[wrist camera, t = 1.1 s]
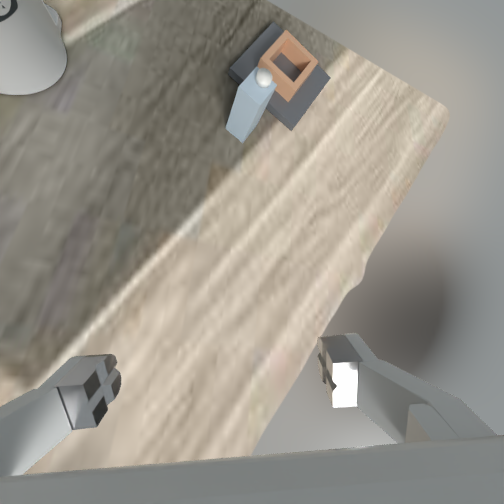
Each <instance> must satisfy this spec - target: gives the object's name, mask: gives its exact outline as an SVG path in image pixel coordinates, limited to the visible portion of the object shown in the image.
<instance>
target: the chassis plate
mask: <svg viewBox="0 0 504 504" xmlns="http://www.w3.org/2000/svg"><path fill="white" fill-rule="evenodd" d="M317 63H318V61H317V60H316V59H315V58H314V57H313V56H312V55H311V54H310V53H309V52H308V51H307V50H306V49H305V48H304V47H303V46H302V45H301V44H300V43H299V42H298V41H297V40H296V39H295V38H294V37H293V36H292V35H291V34H290V33H289V32H288V31H287V30H285V31H283V30H282V29H281V28H280V27H279V26H278V25H277V24H276V23H275V22H273V23H272V24H271V25H270V26H269V27H268V28H267V29H266V30H265V31H264V32H263V33H262V34H261V35H260V36H259V38H258V39H257V40H256V41H255V42H254V43H253V44H252V45H251V46H250V47H249V48H248V49H247V50H246V51H245V52H244V53H243V54H242V56H241V57H240V58H239V59H238V60H237V61H236V62H235V63H234V64H233V65H232V66H231V67H230V69H229V73H228V75H229V76H230V77H232V78H233V79H234V80H235V81H236V82H237V83H238V84H239V85H240V84H241V83H242V82H243V81H244V80H245V79H246V78H247V77H248V76H249V74H250V73H251V72H252V71H253V70H254V69H255V68H256V67H258V68H259V69H260V68H266V69H268V70H269V71H270V72H271V74H272V81H273V82H274V83H275V84H277V86H276V88H275V90H274V92H273V94H272V96H271V98H270V100H269V102H268V104H267V106H266V109H267V110H268V111H270V112H271V113H272V114H273V115H274V116H275V117H276V118H277V119H279V120H280V121H281V122H282V123H283V124H284V125H285V126H286V127H287V128H289V129H290V130H291V131H292V129H293V128H294V127H295V125H296V124H297V123H298V121H299V120H300V119H301V117H302V116H303V115H304V113H305V112H306V111H307V109H308V108H309V106H310V105H311V104H312V102H313V101H314V100H315V98H316V97H317V96H318V94H319V93H320V92H321V90H322V89H323V87H324V86H325V85H326V83H327V82H328V81H329V79H330V77H329V76H328V75H327V74H326V73H325V72H324V71H323V70H322V69H321V68H320V67H319V66H318V65H317Z"/></svg>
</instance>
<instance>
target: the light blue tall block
mask: <svg viewBox="0 0 504 504" xmlns="http://www.w3.org/2000/svg"><path fill="white" fill-rule="evenodd" d="M276 86H277V84H275V83H274V82H273V81H272V74H271V72H270V71H269V70H268V69H266V68H260V69H259V68H258V67H256V68H255V69H254V70H253V71H252V72H251V73H250V74H249V76H248V77H247V78H246V79H245V80H244V81H243V82H242V83H241V84H240V86H239V87H238V90H237V94H236V97H235V100H234V103H233V106H232V109H231V113H230V116H229V119H228V122H227V125H226V129H227V130H228V131H229V132H230V133H231V134H233V135H234V136H235V137H236V138H237V139H239V140H240V141H241V142H242V143H243V142H244V141H245V139H246V138H247V137H248V136H249V134H250V133H251V132H252V131H253V129H254V128H255V127H256V126H257V124H258V122H259V120H260V118H261V116H262V114H263V112H264V110H265V108H266V106H267V104H268V102H269V100H270V98H271V96H272V94H273V92H274V90H275V88H276Z"/></svg>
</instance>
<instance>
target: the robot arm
mask: <svg viewBox="0 0 504 504" xmlns="http://www.w3.org/2000/svg"><path fill="white" fill-rule="evenodd" d="M61 27H62V22H61V19H60V17H59V15H58V13H57V12H56V11H55V10H54V9H53V8H51V7H50V6H48V5H46V4H45V3H44V2H43V0H0V93H2V94H10V95H25V94H32V93H36V92H39V91H42V90H45V89H47V88H49V87H50V86H52V85H53V84H54V83H56V82H57V81H58V80H59V79H60V77H61V76H62V74H63V73H64V70H65V68H66V63H67V54H66V49H65V46H64V44H63V41H62V38H61ZM317 346H318V349H319V351H320V353H319V355H318V367H319V372H320V376H321V378H322V381H323V382H324V383H325V384H326V385H327V386H326V387H327V388H326V389H327V394H328V396H329V399H330V401H331V403H332V406H333V407H350V406H357V407H358V408H359V409H360V410H361V411H362V412H363V413H364V414H365V415H366V416H368V417H369V418H370V419H371V420H372V421H373V422H375V423H376V424H377V425H378V426H379V427H380V428H381V429H382V430H383V431H385V432H386V433H387V434H388V435H389V436H390V437H391V438H392V439H394V440H395V441H396V442H397V443H398V444H389V445H388V444H387V445H375V446H363V447H353V448H341V449H329V450H317V451H305V452H293V453H281V454H269V455H256V456H243V457H231V458H219V459H207V460H195V461H183V462H171V463H159V464H147V465H135V466H123V467H111V468H99V469H87V470H75V471H63V472H51V473H39V474H27V475H22V474H23V473H25V472H26V471H27V470H28V469H29V468H30V467H32V466H33V465H34V464H35V463H36V462H37V461H39V460H40V459H41V458H42V457H43V456H44V455H45V454H47V453H48V452H49V451H50V450H51V449H52V448H54V447H55V446H56V445H57V444H58V443H59V442H60V441H62V440H63V439H64V438H65V437H66V436H67V435H69V434H70V433H71V432H72V430H76V429H85V428H94V427H97V426H98V425H99V423H100V421H101V420H102V418H103V417H104V415H105V414H106V412H107V411H108V407H107V405H108V404H109V403H110V402H112V401H113V400H114V399H115V398H116V396H117V395H118V393H119V390H120V387H121V375H120V372H119V371H118V370H117V369H115V366H116V364H117V360H116V357H115V356H114V355H112V354H104V355H88V356H75V357H72V358H70V359H69V360H68V361H67V362H66V363H65V364H64V365H62V366H61V367H60V368H59V369H58V370H57V371H56V372H55V373H54V374H53V375H52V376H51V377H50V378H49V379H47V380H46V381H45V382H44V383H43V384H42V385H41V386H40V387H39V388H38V389H33V390H31V391H29V392H27V393H25V394H23V395H22V396H20V397H18V398H16V399H14V400H12V401H10V402H8V403H7V404H5V405H3V406H1V407H0V504H504V435H497V434H496V433H494V431H493V430H492V429H490V427H488V426H487V425H486V424H485V423H484V422H483V421H482V420H481V419H480V418H479V417H478V416H477V415H476V414H475V413H474V412H473V411H472V410H471V409H470V408H469V407H468V406H467V405H466V404H465V403H464V402H463V401H462V400H461V399H459V398H457V397H455V396H453V395H451V394H449V393H447V392H445V391H443V390H441V389H439V388H437V387H435V386H433V385H431V384H429V383H427V382H425V381H423V380H421V379H419V378H417V377H415V376H413V375H411V374H409V373H407V372H405V371H403V370H402V369H399V368H398V367H396V366H394V365H392V364H390V363H387V362H386V361H383V360H378V359H377V358H376V357H375V355H374V354H373V353H372V351H371V350H370V349H369V347H368V346H367V345H366V344H365V343H364V341H363V340H362V339H361V337H360V336H359V335H358V334H357V333H349V334H343V335H333V336H323V337H318V340H317Z"/></svg>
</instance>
